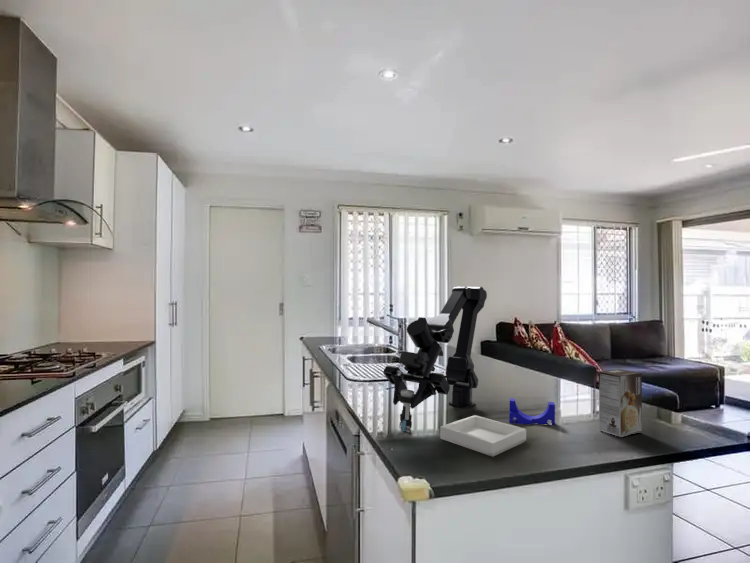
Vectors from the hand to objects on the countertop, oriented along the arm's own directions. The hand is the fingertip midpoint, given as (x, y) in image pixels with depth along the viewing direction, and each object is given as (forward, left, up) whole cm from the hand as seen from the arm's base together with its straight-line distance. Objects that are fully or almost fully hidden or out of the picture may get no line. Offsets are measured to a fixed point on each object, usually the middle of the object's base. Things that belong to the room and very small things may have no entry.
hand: (402, 405), depth 112 cm
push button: (-1, 0, -7) cm, 7 cm away
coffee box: (-44, +38, -7) cm, 59 cm away
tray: (-11, +17, -7) cm, 22 cm away
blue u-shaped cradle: (-34, +18, -7) cm, 39 cm away
